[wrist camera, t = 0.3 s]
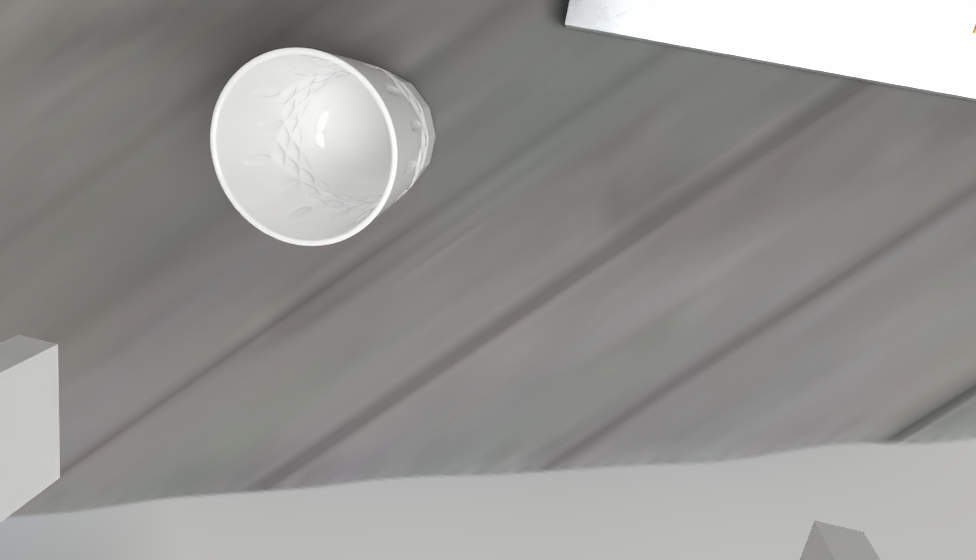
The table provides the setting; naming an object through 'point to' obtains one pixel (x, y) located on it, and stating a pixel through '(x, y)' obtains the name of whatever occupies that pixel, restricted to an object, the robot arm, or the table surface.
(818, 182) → the table surface
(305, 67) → the white cup
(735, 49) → the console
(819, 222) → the table surface
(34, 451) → the robot arm
